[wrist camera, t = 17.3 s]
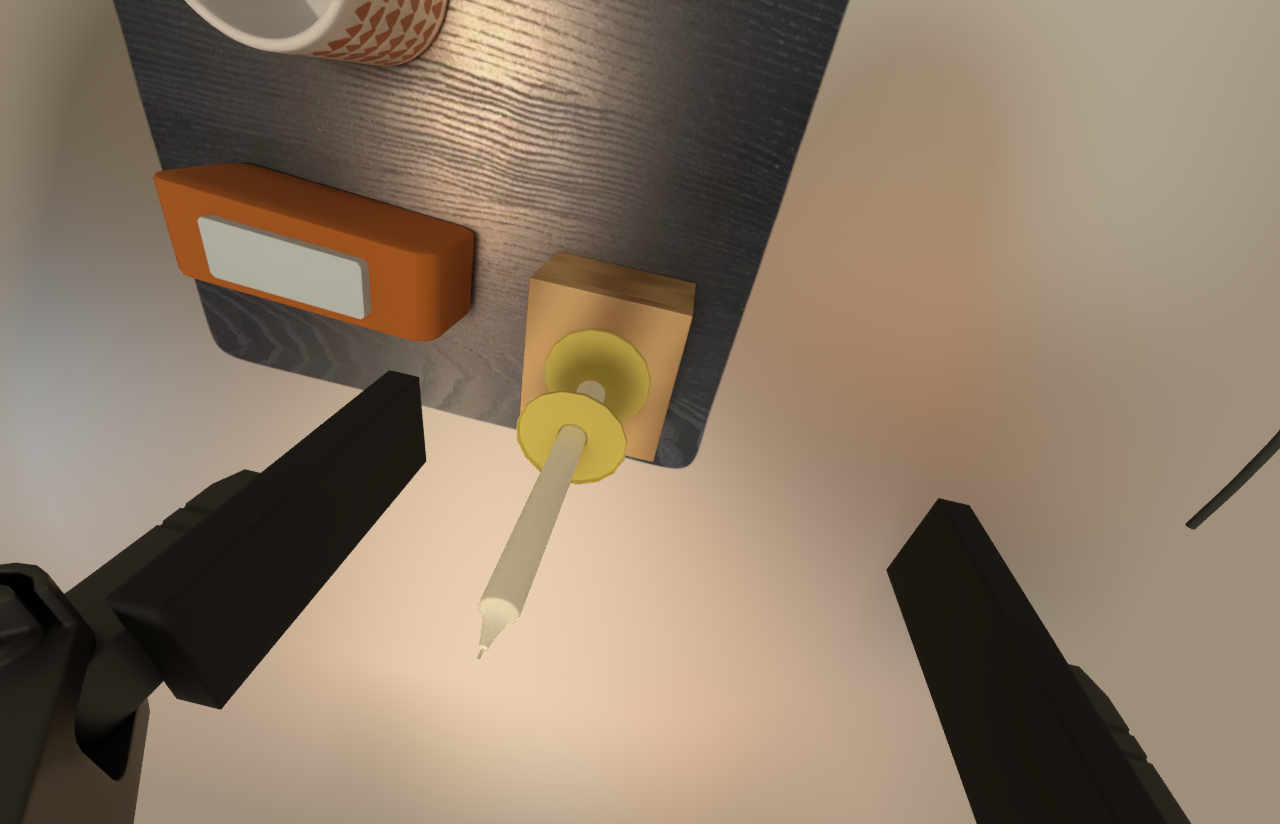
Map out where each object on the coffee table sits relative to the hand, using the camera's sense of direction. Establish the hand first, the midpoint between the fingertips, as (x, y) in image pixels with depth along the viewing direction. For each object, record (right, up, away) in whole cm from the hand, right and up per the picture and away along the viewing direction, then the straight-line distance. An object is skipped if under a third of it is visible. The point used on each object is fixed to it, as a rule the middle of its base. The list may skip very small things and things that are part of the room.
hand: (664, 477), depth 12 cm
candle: (-5, +5, +32) cm, 33 cm away
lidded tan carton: (-3, +10, +40) cm, 41 cm away
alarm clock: (-29, +20, +37) cm, 51 cm away
